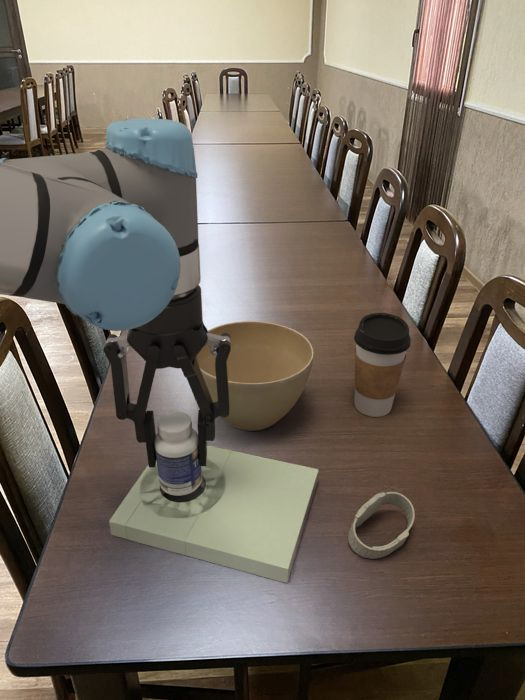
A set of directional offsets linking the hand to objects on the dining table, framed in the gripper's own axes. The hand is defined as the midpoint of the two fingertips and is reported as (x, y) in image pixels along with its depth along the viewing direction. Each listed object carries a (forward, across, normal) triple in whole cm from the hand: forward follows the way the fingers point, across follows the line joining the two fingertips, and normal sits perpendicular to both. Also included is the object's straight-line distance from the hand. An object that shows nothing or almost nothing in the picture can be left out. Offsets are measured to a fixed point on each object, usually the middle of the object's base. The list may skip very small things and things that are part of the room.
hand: (178, 458), depth 66 cm
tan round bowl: (+7, -10, -18) cm, 21 cm away
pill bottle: (+4, 0, 0) cm, 4 cm away
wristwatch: (+7, -24, +7) cm, 26 cm away
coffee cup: (+7, -29, -19) cm, 36 cm away
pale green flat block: (+7, -5, +2) cm, 9 cm away
